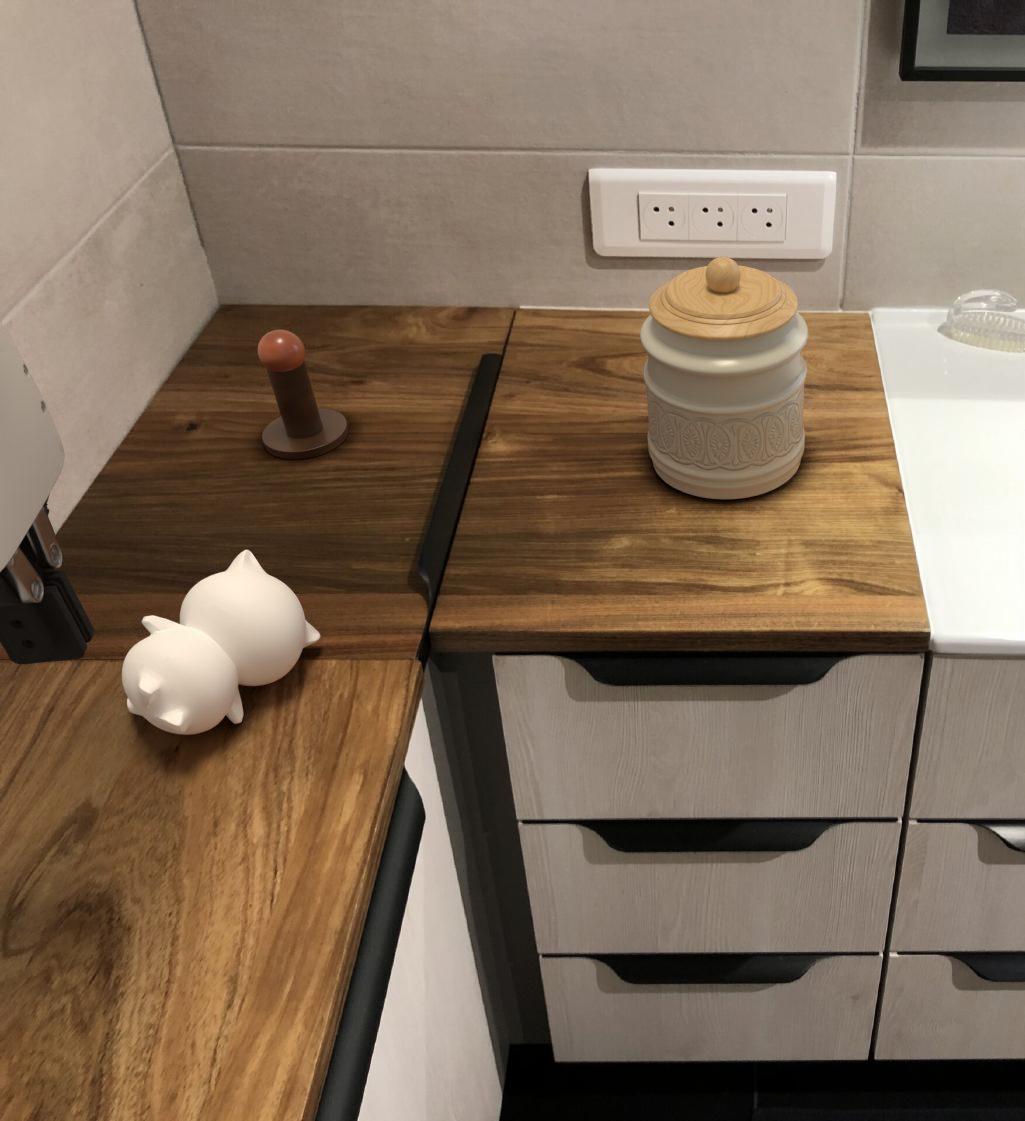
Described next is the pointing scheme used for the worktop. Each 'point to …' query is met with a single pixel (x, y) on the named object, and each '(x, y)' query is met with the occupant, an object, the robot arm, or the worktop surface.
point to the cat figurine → (216, 649)
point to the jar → (725, 381)
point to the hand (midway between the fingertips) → (55, 649)
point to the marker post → (296, 403)
